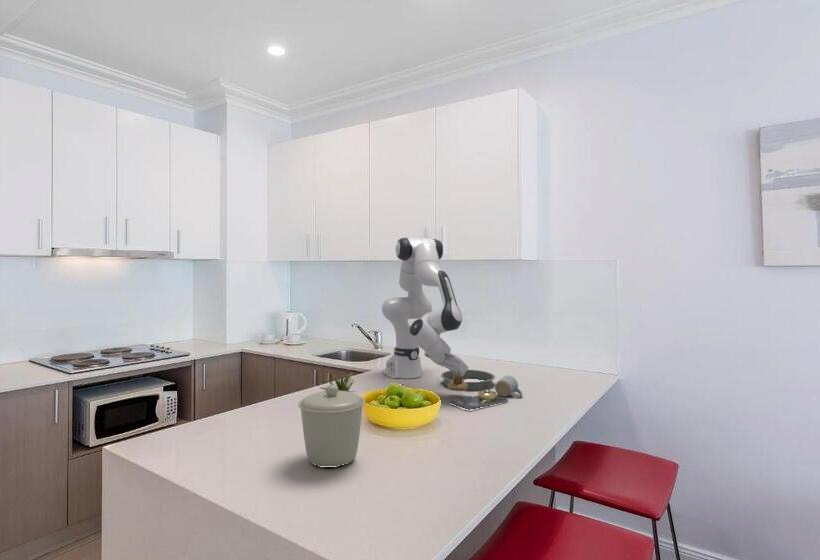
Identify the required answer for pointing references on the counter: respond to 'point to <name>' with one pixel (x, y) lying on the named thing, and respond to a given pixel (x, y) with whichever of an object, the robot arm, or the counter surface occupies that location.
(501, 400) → the carrier plate
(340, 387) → the house plant
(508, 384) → the ceramic mug
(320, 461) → the canister
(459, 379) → the brass joystick knob
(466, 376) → the cake pan
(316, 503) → the counter surface
